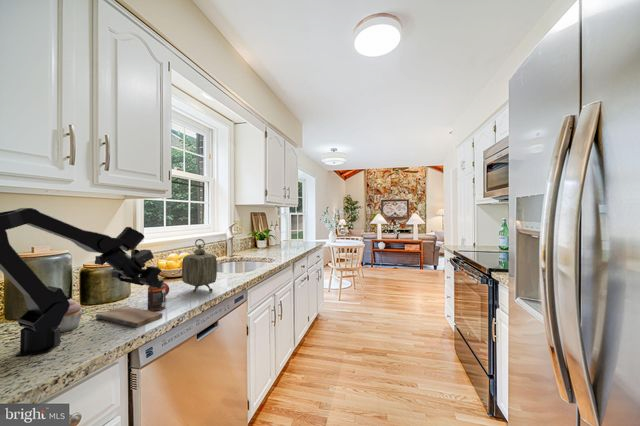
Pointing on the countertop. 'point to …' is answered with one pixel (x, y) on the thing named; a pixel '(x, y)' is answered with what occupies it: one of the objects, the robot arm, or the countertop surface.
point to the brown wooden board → (129, 316)
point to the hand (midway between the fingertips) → (151, 285)
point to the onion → (166, 288)
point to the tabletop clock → (199, 268)
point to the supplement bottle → (157, 297)
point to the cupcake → (71, 316)
